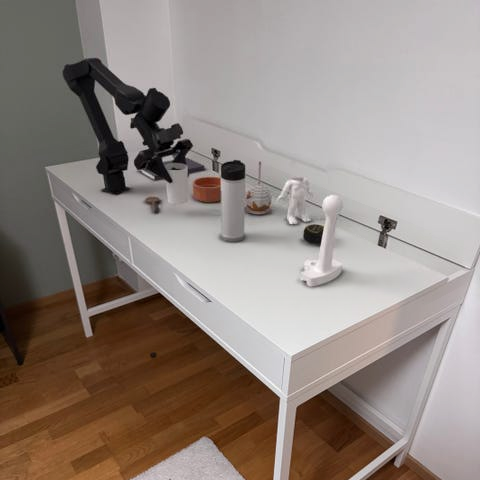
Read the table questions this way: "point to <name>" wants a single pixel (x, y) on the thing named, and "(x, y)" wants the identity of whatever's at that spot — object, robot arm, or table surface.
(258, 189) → the decorative ornament
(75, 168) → the table surface
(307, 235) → the tape measure
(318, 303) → the table surface
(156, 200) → the walnut spoon
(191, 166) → the notebook
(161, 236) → the table surface
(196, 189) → the terracotta bowl
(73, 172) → the table surface
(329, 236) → the joystick
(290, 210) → the toy creature
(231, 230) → the travel mug
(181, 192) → the white paper coffee cup
